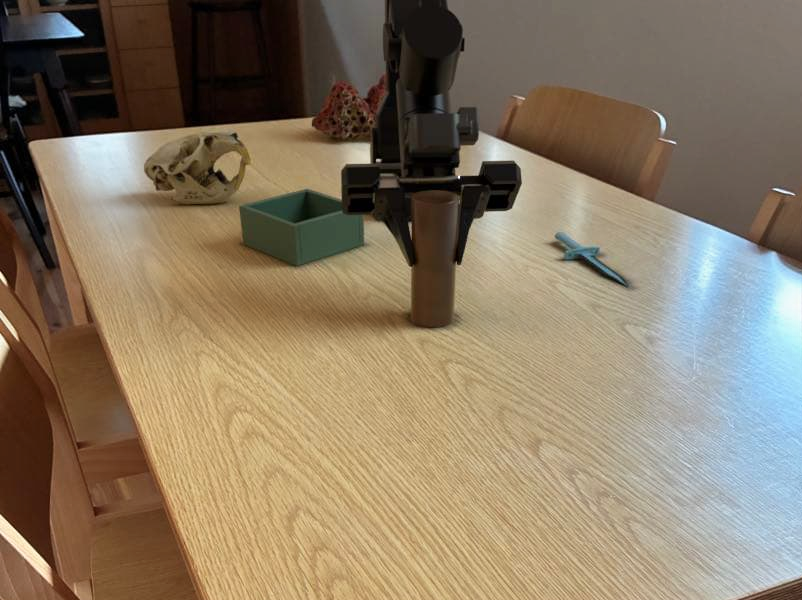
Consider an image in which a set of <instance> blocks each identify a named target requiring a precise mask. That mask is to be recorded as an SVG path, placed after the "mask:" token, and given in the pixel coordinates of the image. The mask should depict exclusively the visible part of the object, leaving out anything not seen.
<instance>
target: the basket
mask: <svg viewBox="0 0 802 600" xmlns="http://www.w3.org/2000/svg"><path fill="white" fill-rule="evenodd" d="M238 210H239V211H238V212H239V218H240V220H239V221H240V227H241V236H242V243H243V245H245V246H248V247H249V248H252V249H254V250H257V251H259V252H262V253H264V254H267V255H269V256H271V257H274V258H276V259H279V260H281V261H283V262H286V263H288V264H291V265H293V266H295V267H299V266H301V265H305V264H308V263H311V262H314V261H317V260H321V259H324V258H328V257H331V256H334V255H337V254H340V253H343V252H347V251H349V250H352V249H356V248H358V247H363V246H364V245H365V224H364V220H365V219H364V215H346V214H344V213H342V198H338V197H334V196H332V195H330V194H329V195H328V194H325V193H323V192H320V191H316V190H313V189H310V188H304V189H301V190H296V191H293V192H289V193H285V194H284V193H283V194H280V195H277V196H276V195H275V196H273V197H269V198H264V199H261V200H256V201H252V202H249V203H244V204H240V205H238Z"/></svg>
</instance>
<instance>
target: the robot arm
mask: <svg viewBox="0 0 802 600" xmlns="http://www.w3.org/2000/svg"><path fill="white" fill-rule="evenodd" d="M382 26H383V27H382V49H383V50H382V53H383V61H384V62H385V74H386V92H385V94H384V96H383V98H382V100H381V102H380V104H379V106H378V108H377V110H376V113H375V123H376V127H371V138H370V145H369V158H370V159H369V161H370V163H346V164H345V165H344V166H343V167H342V169H341V170H340V182H341V183H340V188H341V189H340V190H341V191H340V193H341V200H342V213H344V214H346V215H363V216H371V215H373V220H374V221H376V222H383V224H384V225H385V227H386V228H387V229H388V231H389V232H390V234H391V235H392V237H393V238H394V240H395V242H396V243H397V246H398V247H399V250H400V252H401V253H402V256H403V257H404V259H405V262H406V264H407V265H408V267H409V268H411V267H413V263H414V261H413V246H412V241H411V237H412V234H411V230H410V225H409V221H412V195H413V194H415V193H417V192H421V191H427V190H442V191H449V192H452V193H455V194H457V195H458V196H459V211H458V234H457V257H456V266H462V263H463V259H464V254H465V250H466V246H467V242H468V237H469V233H470V229H471V227H472V224H473V222H474V220H475V219H477V220H478V219H481V218H483V217H484V215H485V213H486V212H489V213H490V212H507V211H510V210H512V209H513V207H514V205H515V202H516V199H517V197H518V194H519V192H520V189H521V186H522V185H523V179H522V169H521V167H520V166H519V164H518V163H517V162H516V161H515V160H482V162H481V165H480V169H479V172H478V175H477V174H476V175H456V169H459V167H460V163H461V156H460V151H461V150H462V149H461V148H462V147H461V146H465V147H466V146H475V145H476V144H477V142H478V140H479V136H480V123H479V113H478V107H477V106H461V107H459V108H458V110H457V112H456V113H455V112H452V111H451V98H450V96H451V95H450V90H451V89H452V87H453V86H454V85H453V84H454V82H455V77H456V73H457V69H458V62H459V58H460V54H461V52H462V53H464V52H465V45H466V44H465V43H466V42H465V37H463V35H464V30H463V25H462V23H461V22H460V19H458V17H457V15H455V13H453V12H452V11H451V10H450V9H449V5H448V0H384V23H383V25H382ZM377 160H380V161H377Z"/></svg>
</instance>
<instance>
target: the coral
mask: <svg viewBox="0 0 802 600" xmlns="http://www.w3.org/2000/svg"><path fill="white" fill-rule="evenodd" d="M385 92H386V73H385V74H382V75H381V77H380V78H379V80H378V84H375V85H372V86H371V87H370V89H369V90H368V91H367V95H366V97H363V98H362V97H360V93H359V91H358V90H357V89H356V88H355V87H354V86H352V85H351V84H349V83H347V82H346V81H344V80H341V81H339V82H337V83H335V84H333V85H332V87H331V89H330V92H329V95H328V96H326V97H327V98H326V100H325V104H324V106H323V107H322V108H321V109H320V111H319V112H318V113H317V115H316V116H315V117H313V118H312V119H311V127H312V128H314V129H315V130H317V131H320V132H322V133H323V134H324V135H326V136H330V137H334V138H336V139H342V140H344V141H345V140H346V138H349V139H359V138H361V137H364V138H367V137H368V138H370V139H371V127H376V123H375V113H376V110H377V108H378V106H379V104H380V102H381V100H382V98H383V96H384V94H385Z"/></svg>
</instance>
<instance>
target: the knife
mask: <svg viewBox="0 0 802 600" xmlns="http://www.w3.org/2000/svg"><path fill="white" fill-rule="evenodd" d="M554 238H555V239H556V240H558V241H559V242H561V243H562V244H564V245H565V246H566V247H567V248H569V249H568V250H566V251H564V255H563V259H564V260H578V259H582V260H584V262H586V263H587V264H589V265H590V266H592V267H593V268H594V269H595V270H597V271H599V273H601V274H602V275H603V276H605V277H607V278H609V279H611V280H613V281H615V282H617V283H619V284H621V285H623V286H625V287H627V288H629V284H628V282H627V280H626V279H625V278H624V277H623V276H622V275H620V274H619V273H617V272H616V271H615V270H613V269H612V268H610V267H609V266H607V265H606V264H605V263H604V262H602V261H601V260H600V259H598V258H597V257H596V256H598V255H600V249H601V248H600V247H599V246H586V247H584V246H582V245H581V244H580V243H578V242H577V241H575V240H574V239H573V238H571V237H570V236H568V234H567V233H566V232H564V231H559V232H556V233H555V234H554Z"/></svg>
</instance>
